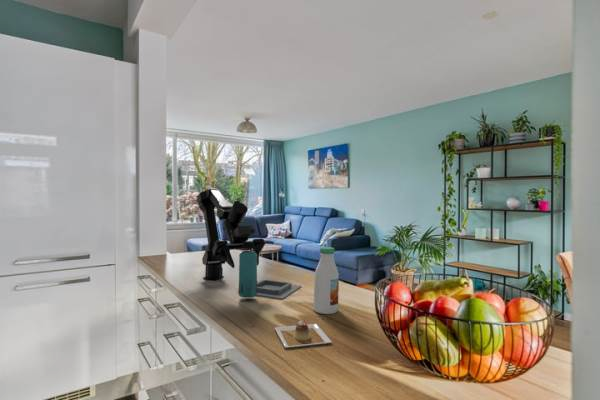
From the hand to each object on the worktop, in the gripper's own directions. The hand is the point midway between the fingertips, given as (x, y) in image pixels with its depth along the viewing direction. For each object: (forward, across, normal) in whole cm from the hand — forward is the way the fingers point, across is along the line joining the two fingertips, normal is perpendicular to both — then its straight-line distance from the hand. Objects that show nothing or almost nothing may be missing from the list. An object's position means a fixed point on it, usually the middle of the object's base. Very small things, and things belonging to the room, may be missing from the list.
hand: (246, 266), depth 116 cm
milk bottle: (+25, +17, -9) cm, 32 cm away
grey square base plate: (+5, +13, +11) cm, 18 cm away
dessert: (+34, -1, -17) cm, 38 cm away
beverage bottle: (+9, 0, +7) cm, 12 cm away
